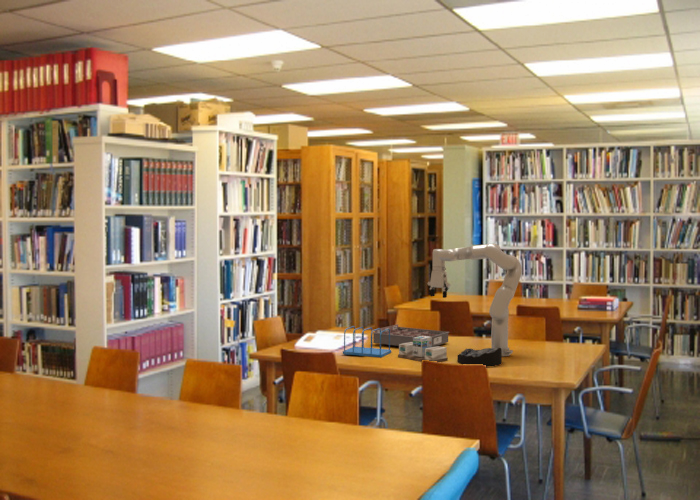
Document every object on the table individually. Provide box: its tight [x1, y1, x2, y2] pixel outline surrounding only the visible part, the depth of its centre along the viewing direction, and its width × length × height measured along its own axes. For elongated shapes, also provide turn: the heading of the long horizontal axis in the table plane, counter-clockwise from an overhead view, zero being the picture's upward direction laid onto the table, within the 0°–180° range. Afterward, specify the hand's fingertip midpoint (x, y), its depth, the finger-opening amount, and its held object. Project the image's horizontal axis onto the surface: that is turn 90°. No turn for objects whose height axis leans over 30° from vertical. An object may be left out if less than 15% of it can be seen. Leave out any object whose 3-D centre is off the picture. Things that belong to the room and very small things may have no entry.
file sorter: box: [342, 325, 392, 358], centre depth 429 cm, size 25×17×15 cm
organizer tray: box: [372, 323, 450, 347], centre depth 461 cm, size 32×40×10 cm
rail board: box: [397, 342, 449, 363], centre depth 413 cm, size 26×14×8 cm, turn 43°
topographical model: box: [456, 347, 503, 367], centre depth 403 cm, size 25×25×10 cm
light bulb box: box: [413, 336, 432, 357], centre depth 414 cm, size 11×7×11 cm, turn 141°
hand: (438, 296), depth 437 cm, fingers open, 9 cm apart
